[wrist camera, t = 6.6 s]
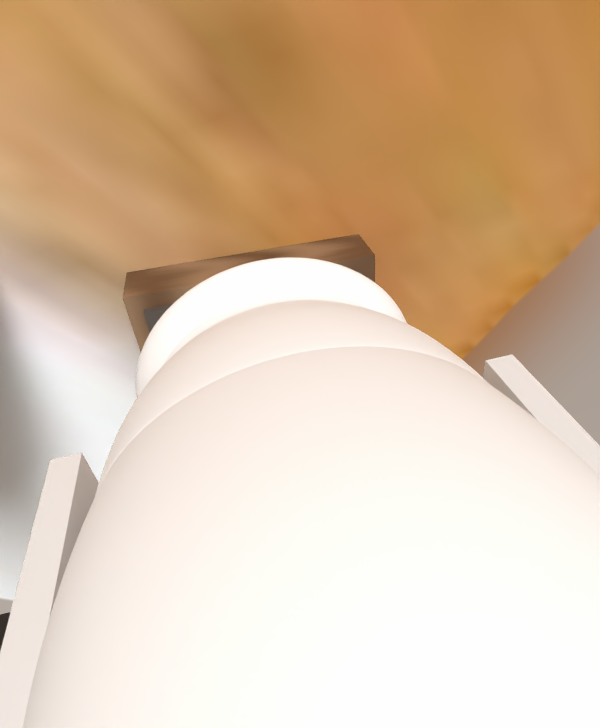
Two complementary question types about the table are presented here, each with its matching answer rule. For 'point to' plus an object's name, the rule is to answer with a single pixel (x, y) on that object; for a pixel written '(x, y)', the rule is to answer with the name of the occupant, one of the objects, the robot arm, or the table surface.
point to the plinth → (167, 284)
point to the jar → (324, 531)
